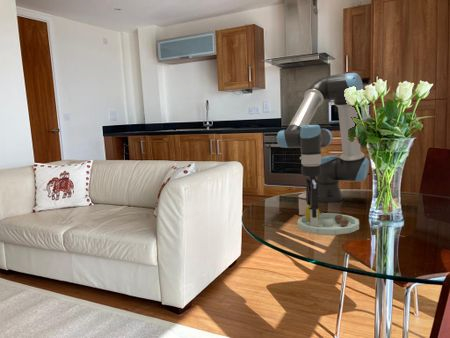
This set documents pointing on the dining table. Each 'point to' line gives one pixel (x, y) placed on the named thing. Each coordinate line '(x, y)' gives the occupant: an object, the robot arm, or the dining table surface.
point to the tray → (328, 225)
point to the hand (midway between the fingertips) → (312, 223)
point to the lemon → (309, 213)
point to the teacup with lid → (302, 203)
